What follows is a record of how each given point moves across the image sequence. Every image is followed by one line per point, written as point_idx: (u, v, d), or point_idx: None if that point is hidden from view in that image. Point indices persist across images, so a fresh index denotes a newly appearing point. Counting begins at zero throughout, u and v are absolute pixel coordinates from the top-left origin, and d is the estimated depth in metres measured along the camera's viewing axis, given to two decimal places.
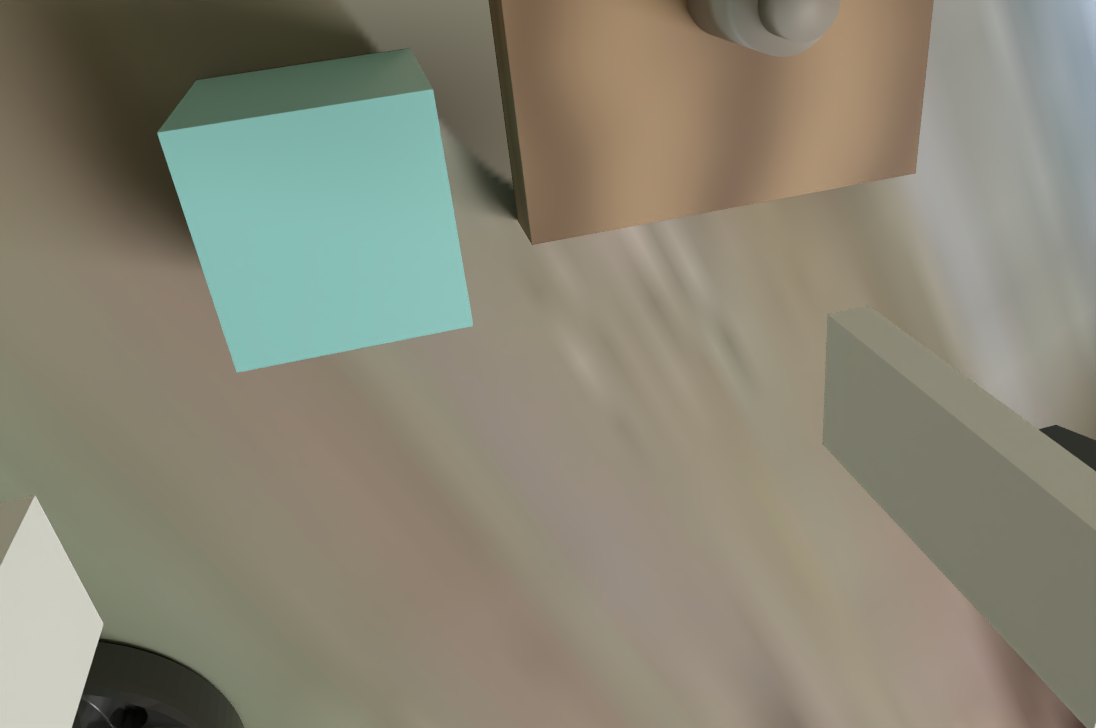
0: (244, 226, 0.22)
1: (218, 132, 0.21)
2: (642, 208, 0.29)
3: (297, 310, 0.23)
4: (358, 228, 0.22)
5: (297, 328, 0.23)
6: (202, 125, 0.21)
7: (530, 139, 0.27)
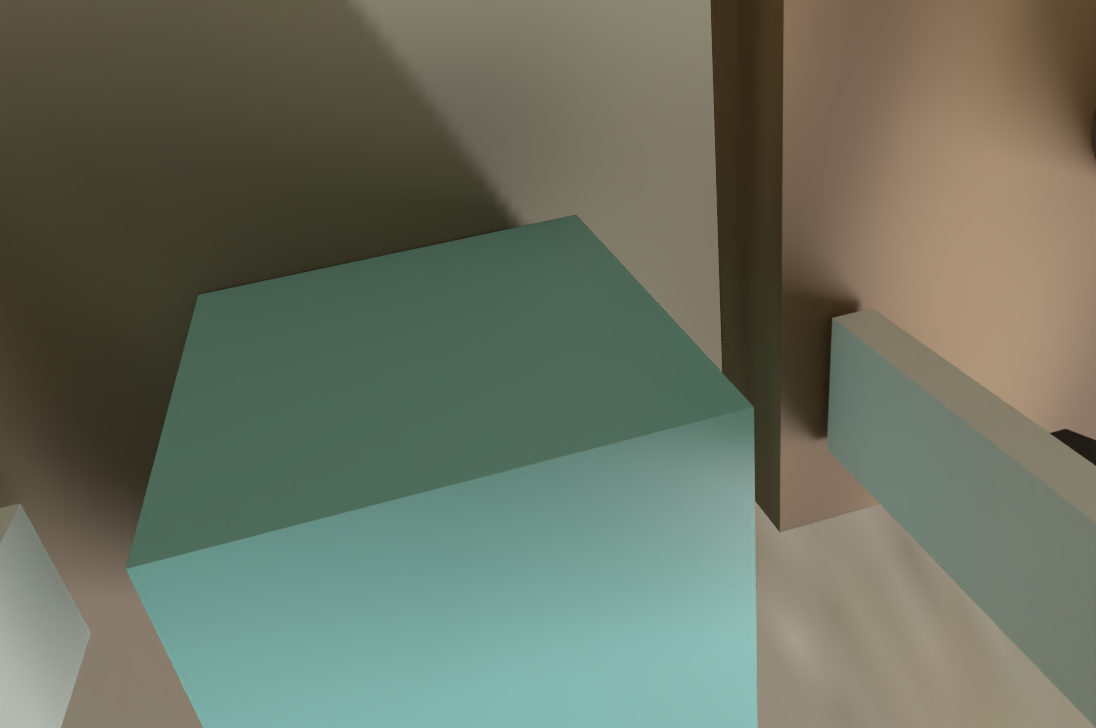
0: (328, 708, 0.10)
1: (273, 549, 0.09)
2: None
3: None
4: (565, 673, 0.11)
5: None
6: (235, 537, 0.09)
7: (800, 375, 0.15)
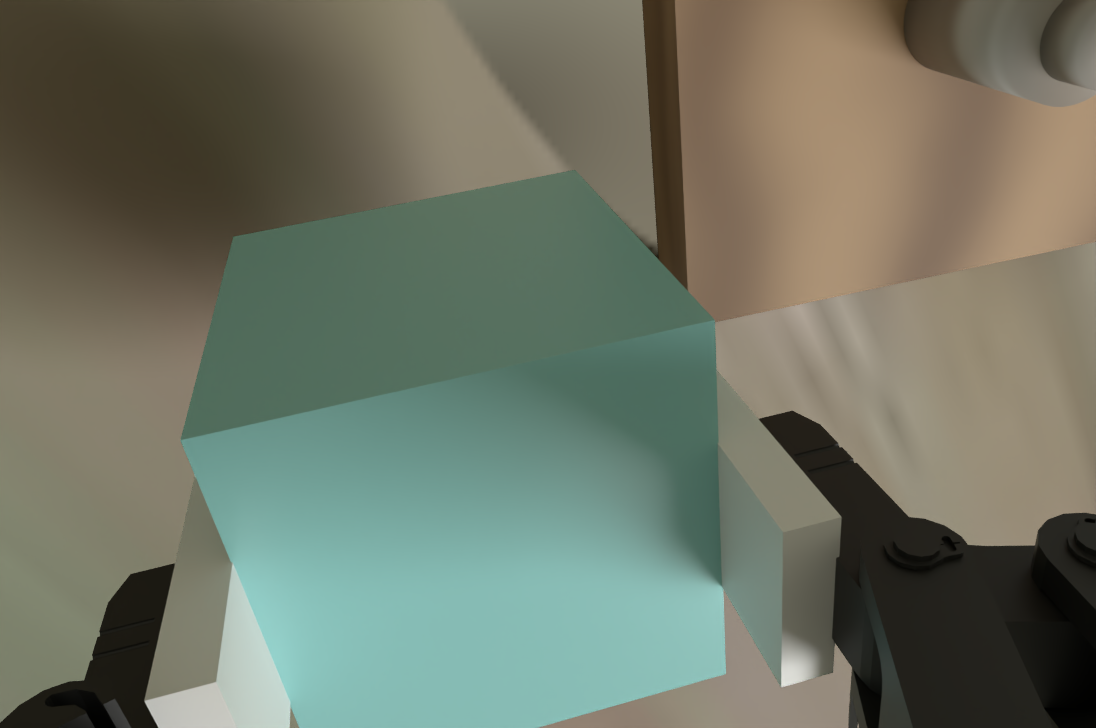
0: (347, 575, 0.11)
1: (303, 428, 0.10)
2: (824, 280, 0.23)
3: (434, 689, 0.13)
4: (552, 556, 0.12)
5: (432, 714, 0.13)
6: (271, 417, 0.10)
7: (698, 202, 0.21)
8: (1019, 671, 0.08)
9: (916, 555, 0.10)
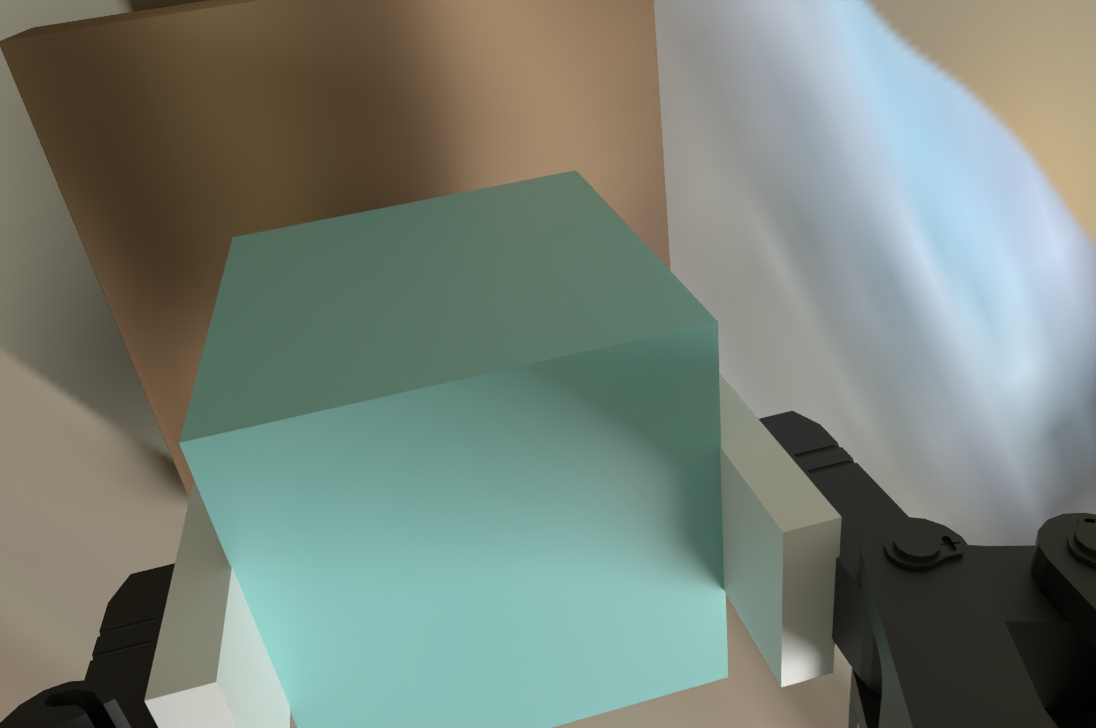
0: (347, 579, 0.11)
1: (302, 431, 0.10)
2: None
3: (435, 693, 0.13)
4: (553, 559, 0.12)
5: (433, 718, 0.13)
6: (270, 420, 0.10)
7: None
8: (1019, 671, 0.08)
9: (916, 555, 0.10)
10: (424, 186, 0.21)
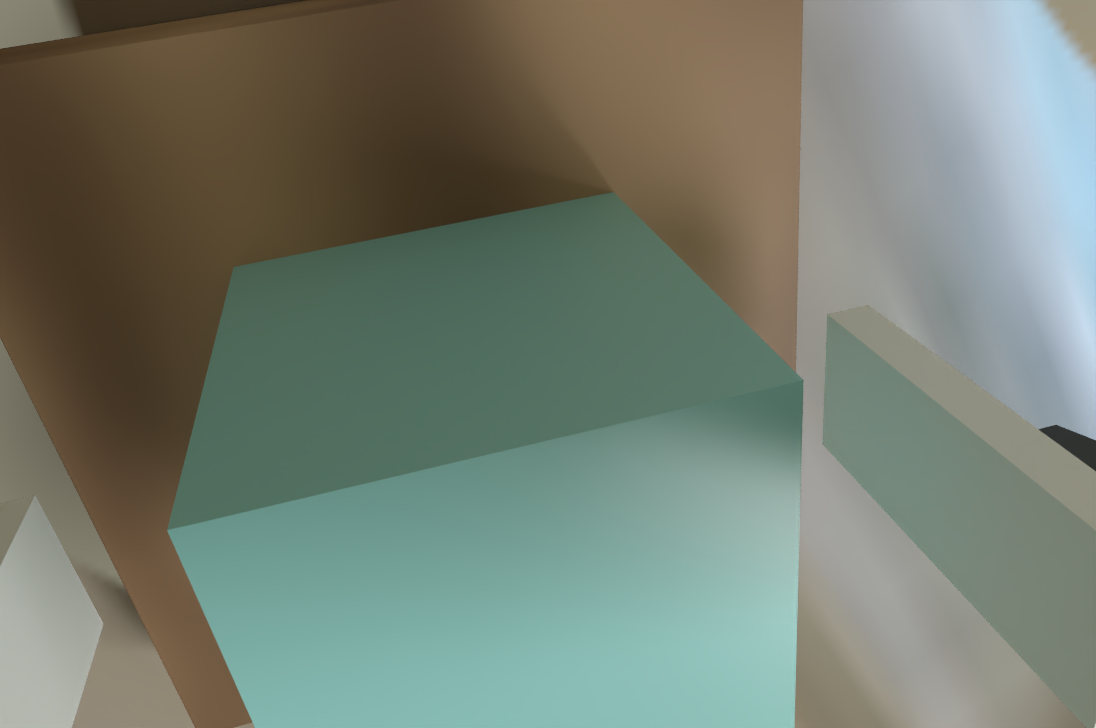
0: (364, 677, 0.10)
1: (314, 513, 0.09)
2: None
3: None
4: (602, 649, 0.10)
5: None
6: (276, 501, 0.08)
7: (162, 619, 0.17)
8: None
9: None
10: None
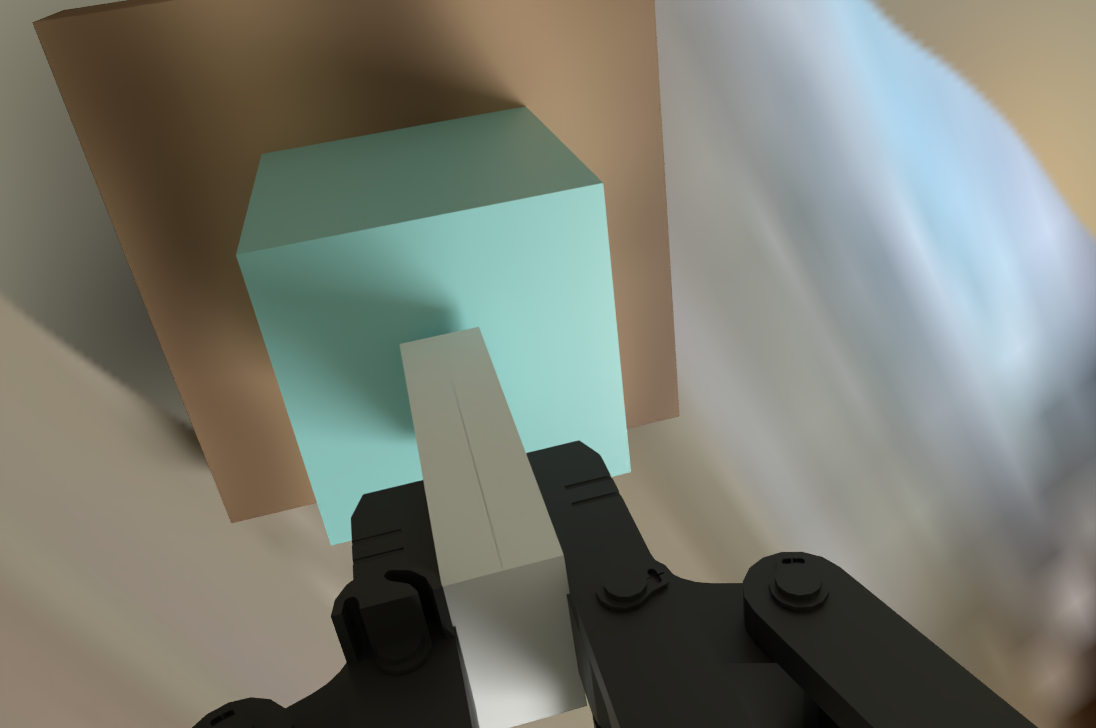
0: (348, 367, 0.16)
1: (318, 250, 0.15)
2: None
3: (411, 466, 0.18)
4: (494, 362, 0.17)
5: None
6: (297, 242, 0.15)
7: (206, 423, 0.24)
8: (729, 694, 0.08)
9: (625, 596, 0.10)
10: None
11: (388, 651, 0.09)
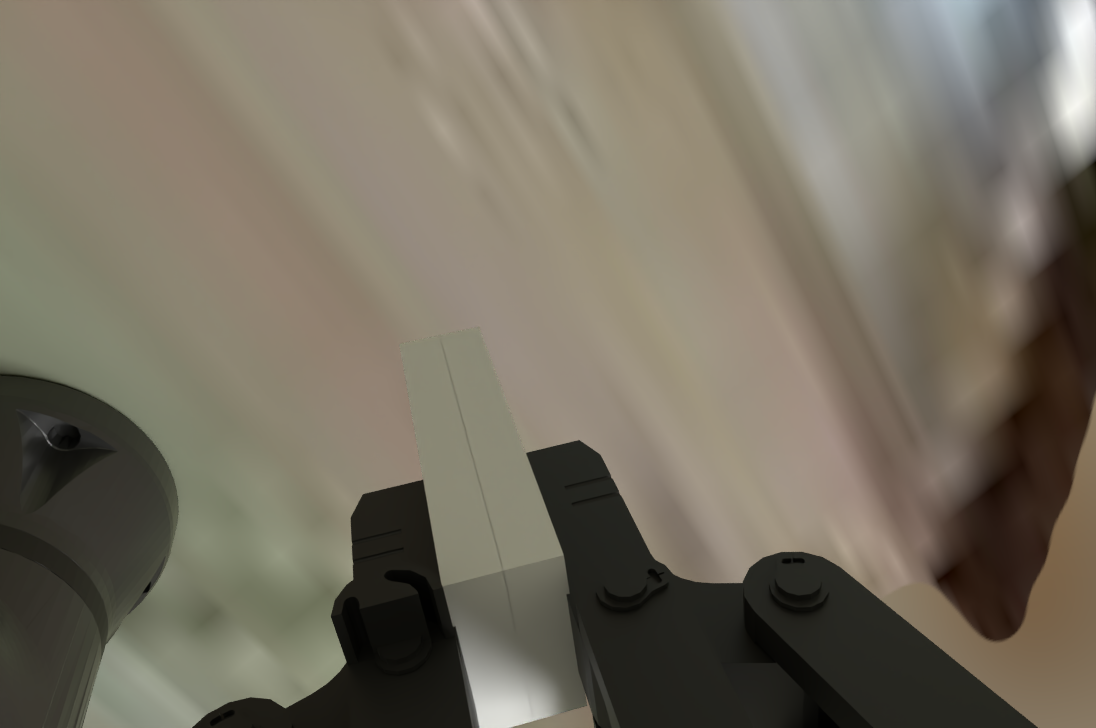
0: None
1: None
2: None
3: None
4: None
5: None
6: None
7: None
8: (729, 694, 0.08)
9: (626, 596, 0.10)
10: None
11: (388, 651, 0.09)
